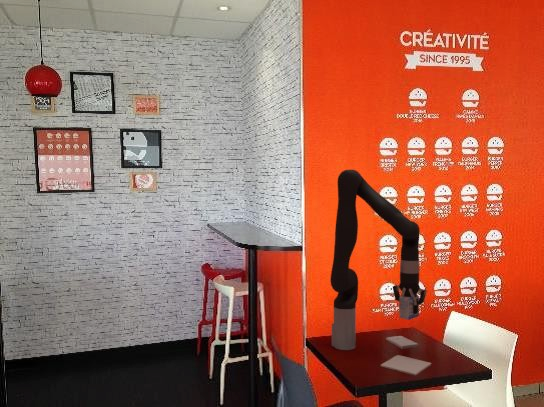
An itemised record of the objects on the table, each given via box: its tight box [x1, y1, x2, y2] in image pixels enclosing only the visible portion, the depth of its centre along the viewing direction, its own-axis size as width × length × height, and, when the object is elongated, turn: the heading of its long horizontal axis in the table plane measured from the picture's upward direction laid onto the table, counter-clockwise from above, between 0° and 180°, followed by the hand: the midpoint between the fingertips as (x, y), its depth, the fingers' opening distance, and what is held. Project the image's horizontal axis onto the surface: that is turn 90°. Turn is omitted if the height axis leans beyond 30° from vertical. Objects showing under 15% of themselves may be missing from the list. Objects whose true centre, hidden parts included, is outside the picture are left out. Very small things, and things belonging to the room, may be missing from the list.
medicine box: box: [398, 295, 420, 321], centre depth 202 cm, size 8×4×9 cm, turn 132°
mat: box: [380, 354, 432, 376], centre depth 190 cm, size 14×14×1 cm
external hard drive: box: [385, 335, 419, 350], centre depth 216 cm, size 2×8×12 cm
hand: (409, 312), depth 202 cm, fingers closed on medicine box, 4 cm apart
